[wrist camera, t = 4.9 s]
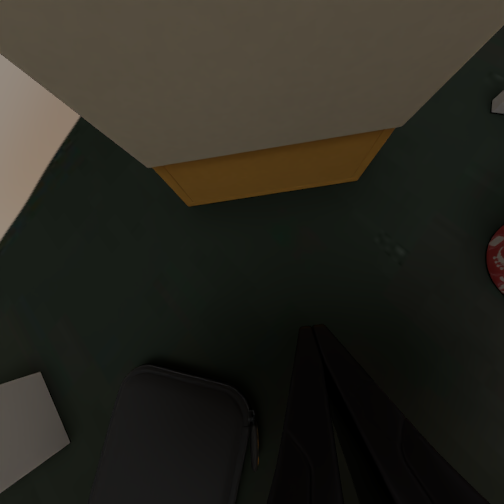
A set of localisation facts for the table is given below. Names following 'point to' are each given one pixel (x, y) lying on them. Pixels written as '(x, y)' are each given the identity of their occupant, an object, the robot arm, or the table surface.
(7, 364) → the table surface
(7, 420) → the white cube
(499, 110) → the garden wall model
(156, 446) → the carrying case
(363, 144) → the tote
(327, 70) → the lid
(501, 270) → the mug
